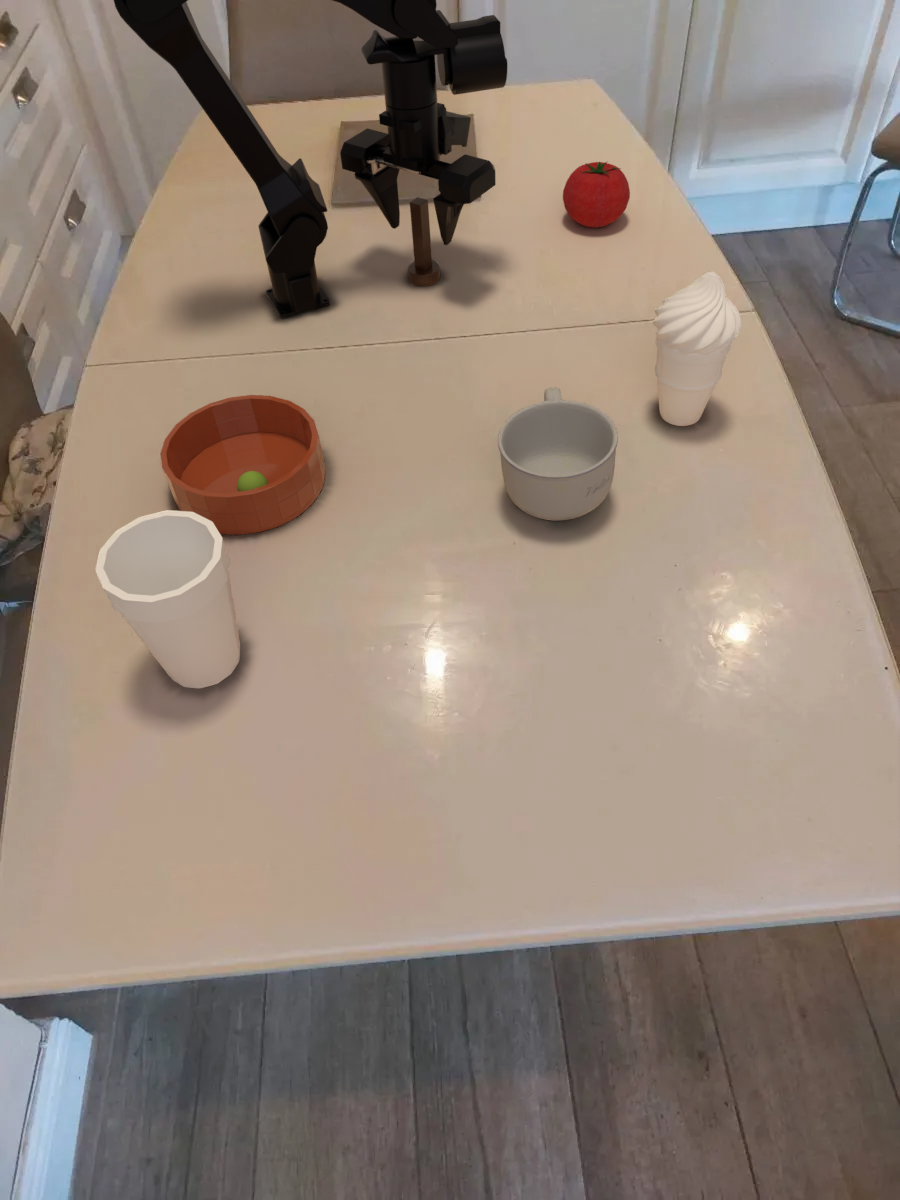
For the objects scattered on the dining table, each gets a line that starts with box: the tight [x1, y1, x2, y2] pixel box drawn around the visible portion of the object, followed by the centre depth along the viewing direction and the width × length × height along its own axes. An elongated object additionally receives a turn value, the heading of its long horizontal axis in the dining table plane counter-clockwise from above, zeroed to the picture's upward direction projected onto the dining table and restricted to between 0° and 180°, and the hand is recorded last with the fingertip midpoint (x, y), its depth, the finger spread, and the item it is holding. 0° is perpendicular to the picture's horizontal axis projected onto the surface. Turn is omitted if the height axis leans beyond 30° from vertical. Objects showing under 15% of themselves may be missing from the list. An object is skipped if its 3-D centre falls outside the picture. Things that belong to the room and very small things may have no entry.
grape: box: [237, 471, 268, 492], centre depth 89 cm, size 3×3×3 cm
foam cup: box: [94, 509, 241, 689], centre depth 73 cm, size 10×9×13 cm
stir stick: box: [407, 196, 441, 287], centre depth 112 cm, size 4×4×10 cm
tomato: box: [562, 161, 631, 228], centre depth 120 cm, size 9×9×8 cm
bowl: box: [159, 394, 326, 536], centre depth 90 cm, size 15×15×5 cm
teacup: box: [497, 386, 619, 522], centre depth 87 cm, size 14×11×8 cm
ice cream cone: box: [652, 271, 742, 427], centre depth 90 cm, size 8×8×16 cm
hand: (421, 235), depth 112 cm, fingers open, 8 cm apart
